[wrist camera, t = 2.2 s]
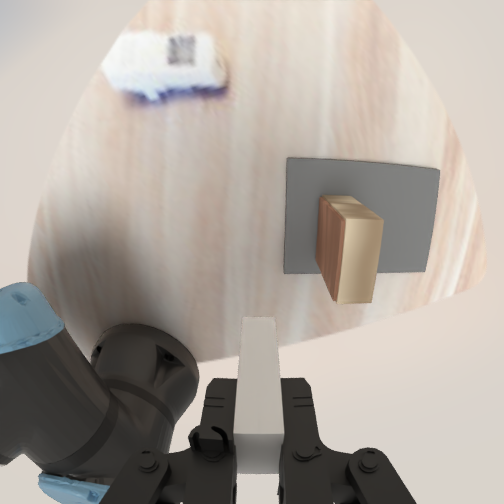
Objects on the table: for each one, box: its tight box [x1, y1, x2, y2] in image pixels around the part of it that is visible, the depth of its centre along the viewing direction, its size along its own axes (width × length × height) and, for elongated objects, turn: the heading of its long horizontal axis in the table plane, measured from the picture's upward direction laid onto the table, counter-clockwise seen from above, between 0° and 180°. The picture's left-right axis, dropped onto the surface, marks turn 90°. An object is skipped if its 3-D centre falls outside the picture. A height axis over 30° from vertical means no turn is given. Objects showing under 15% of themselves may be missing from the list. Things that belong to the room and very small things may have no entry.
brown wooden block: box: [315, 195, 384, 304], centre depth 28 cm, size 3×7×9 cm, turn 0°
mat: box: [284, 158, 440, 274], centre depth 32 cm, size 17×12×1 cm
